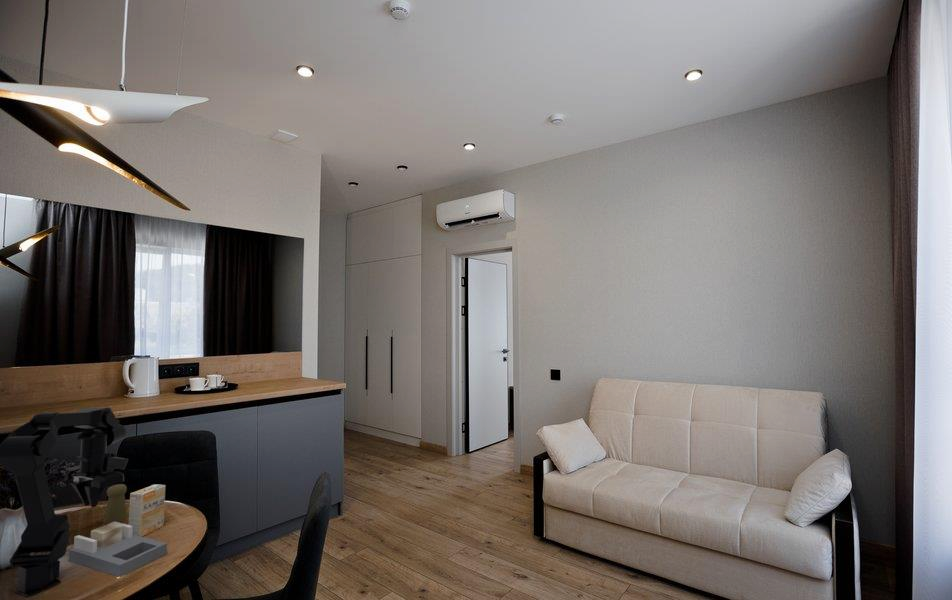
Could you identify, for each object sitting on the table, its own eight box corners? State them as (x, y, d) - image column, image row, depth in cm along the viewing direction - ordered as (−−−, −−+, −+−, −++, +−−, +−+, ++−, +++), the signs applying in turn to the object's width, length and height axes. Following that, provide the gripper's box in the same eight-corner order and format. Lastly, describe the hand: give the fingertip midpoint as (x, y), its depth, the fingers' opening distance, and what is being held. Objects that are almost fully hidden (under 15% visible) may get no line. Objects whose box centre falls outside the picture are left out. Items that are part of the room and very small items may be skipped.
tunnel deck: (119, 577, 113) (120, 553, 114) (68, 560, 121) (70, 538, 121) (166, 554, 125) (167, 532, 125) (117, 540, 132) (118, 520, 132)
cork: (116, 523, 143) (118, 488, 143) (98, 523, 143) (100, 488, 143) (131, 515, 149) (133, 482, 149) (113, 515, 149) (115, 481, 149)
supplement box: (140, 538, 133) (142, 494, 134) (127, 536, 134) (129, 493, 135) (164, 526, 141) (166, 484, 142) (152, 524, 142) (154, 483, 143)
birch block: (101, 548, 121) (102, 533, 122) (90, 545, 123) (90, 530, 123) (121, 540, 126) (122, 525, 126) (110, 537, 128) (110, 523, 128)
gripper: (144, 447, 133) (142, 500, 132) (104, 441, 139) (101, 491, 138) (102, 458, 122) (99, 515, 121) (60, 450, 129) (57, 505, 128)
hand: (90, 506), depth 128 cm, fingers open, 3 cm apart
